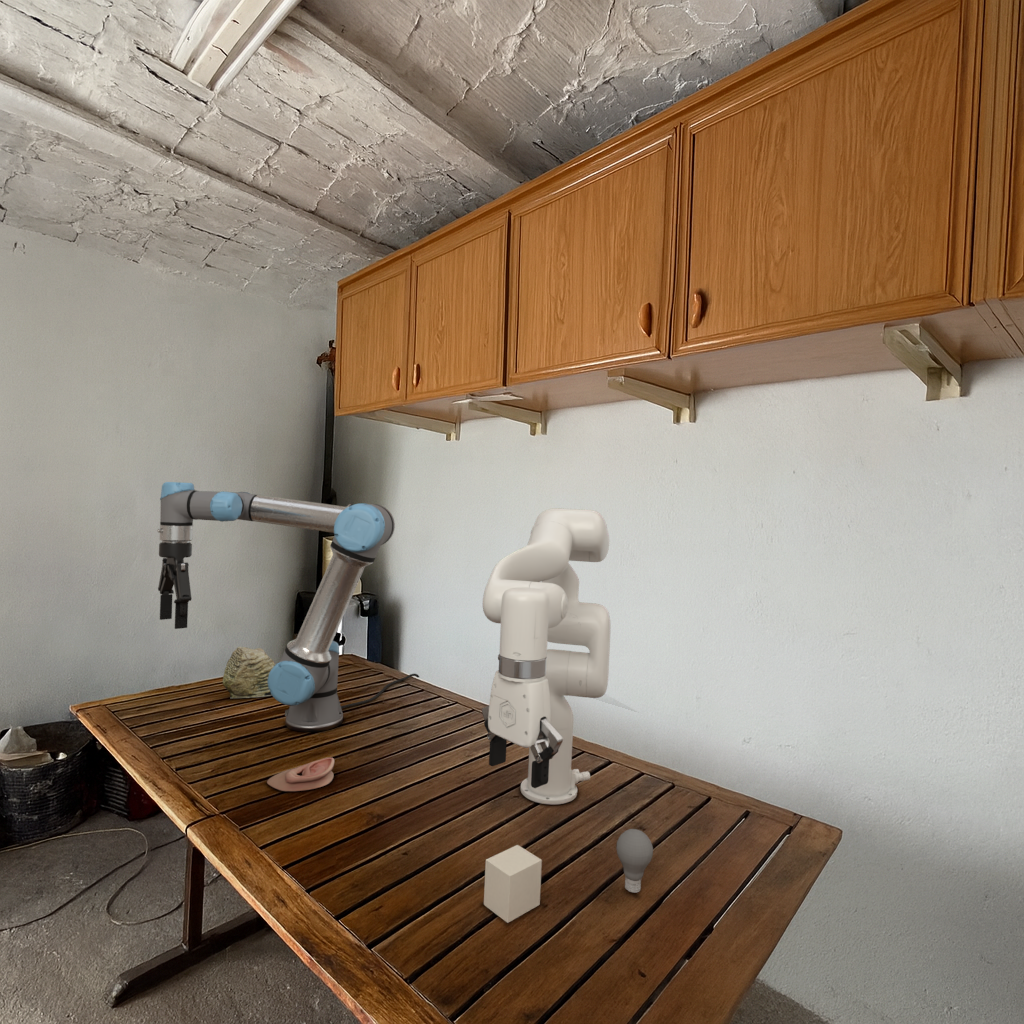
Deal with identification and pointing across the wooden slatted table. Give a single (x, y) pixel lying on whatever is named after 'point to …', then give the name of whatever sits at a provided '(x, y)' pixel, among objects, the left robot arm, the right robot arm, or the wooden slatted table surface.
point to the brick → (512, 883)
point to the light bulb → (634, 857)
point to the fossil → (248, 673)
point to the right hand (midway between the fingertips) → (517, 774)
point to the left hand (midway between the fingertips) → (173, 623)
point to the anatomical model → (304, 776)
